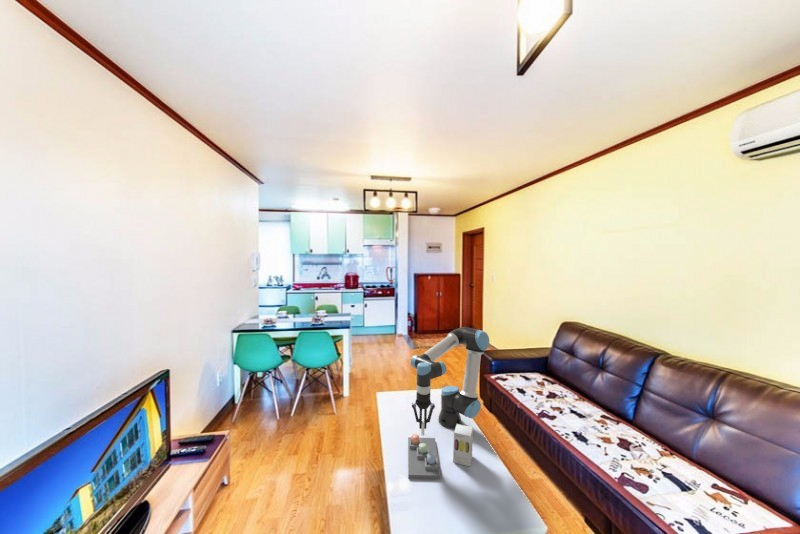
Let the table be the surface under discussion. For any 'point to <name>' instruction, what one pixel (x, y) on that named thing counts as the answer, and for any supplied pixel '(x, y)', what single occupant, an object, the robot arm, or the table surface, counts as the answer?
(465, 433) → the supplement box
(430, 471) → the panel
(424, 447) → the sage button
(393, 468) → the table surface
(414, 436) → the coral button
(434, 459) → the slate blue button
